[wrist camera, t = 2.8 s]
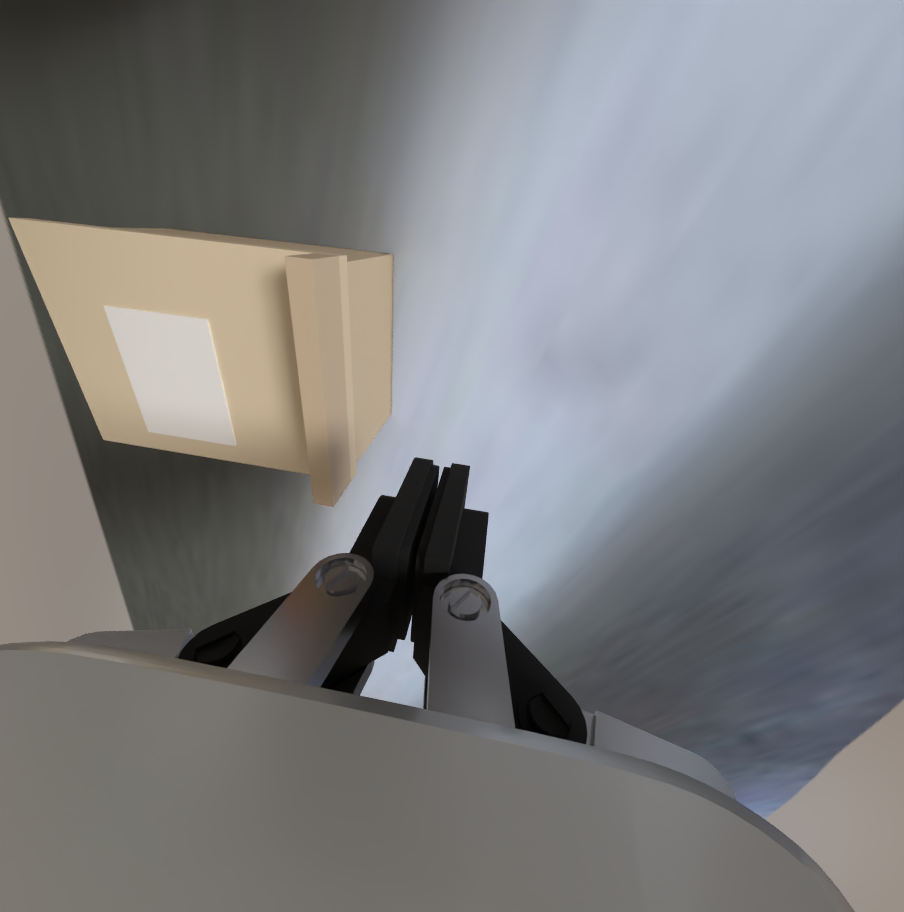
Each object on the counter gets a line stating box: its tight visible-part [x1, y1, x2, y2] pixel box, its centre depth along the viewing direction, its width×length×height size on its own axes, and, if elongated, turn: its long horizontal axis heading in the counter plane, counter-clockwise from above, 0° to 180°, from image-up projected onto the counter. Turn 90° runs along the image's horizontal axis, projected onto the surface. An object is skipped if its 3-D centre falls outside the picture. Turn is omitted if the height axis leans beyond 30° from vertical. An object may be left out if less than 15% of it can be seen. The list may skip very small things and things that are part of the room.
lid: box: [9, 218, 357, 507], centre depth 18 cm, size 14×11×3 cm
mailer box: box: [117, 228, 393, 463], centre depth 22 cm, size 14×10×7 cm
